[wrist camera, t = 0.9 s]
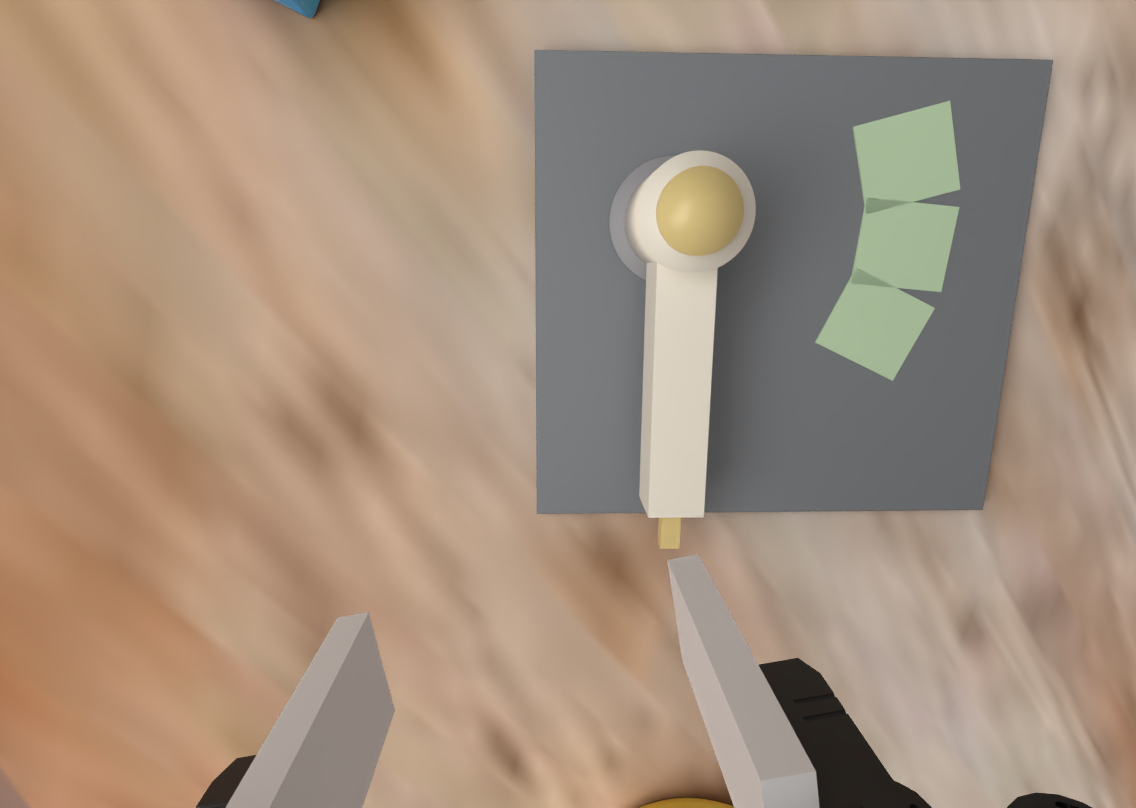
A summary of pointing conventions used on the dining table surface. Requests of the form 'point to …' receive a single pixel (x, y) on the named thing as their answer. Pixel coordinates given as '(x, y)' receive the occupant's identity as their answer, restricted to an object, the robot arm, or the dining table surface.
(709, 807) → the teapot
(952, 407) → the board
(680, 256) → the peg lever
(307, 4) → the ink box
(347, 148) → the dining table surface
